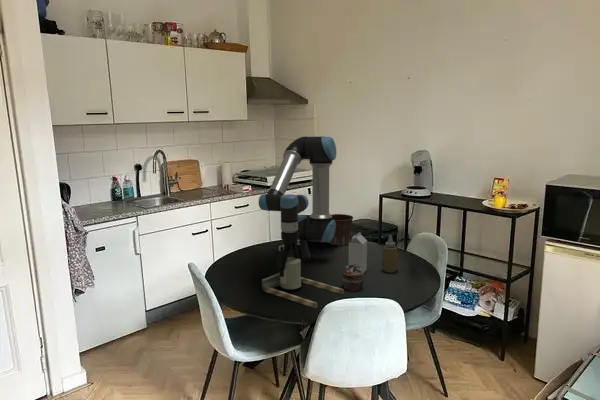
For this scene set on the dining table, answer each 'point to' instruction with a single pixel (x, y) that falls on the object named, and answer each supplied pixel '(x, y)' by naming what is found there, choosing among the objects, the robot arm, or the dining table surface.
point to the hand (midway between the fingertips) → (290, 280)
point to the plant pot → (341, 229)
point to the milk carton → (358, 252)
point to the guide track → (275, 282)
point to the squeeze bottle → (390, 256)
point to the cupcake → (352, 278)
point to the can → (292, 273)
